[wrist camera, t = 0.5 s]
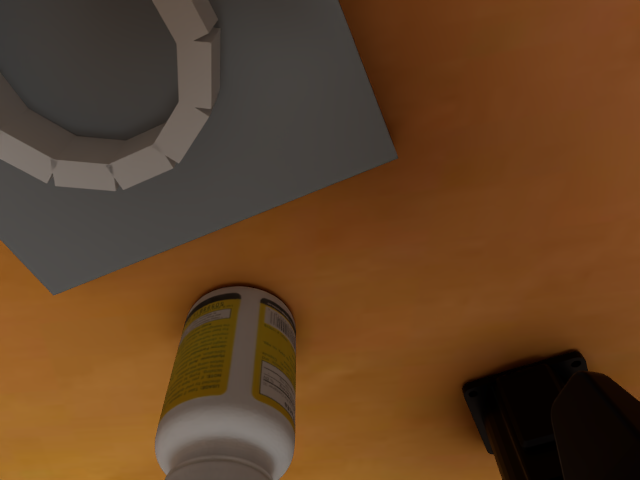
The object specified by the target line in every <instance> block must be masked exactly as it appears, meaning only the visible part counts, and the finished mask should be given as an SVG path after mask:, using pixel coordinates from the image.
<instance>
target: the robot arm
mask: <svg viewBox="0 0 640 480" xmlns="http://www.w3.org/2000/svg"><path fill="white" fill-rule="evenodd" d="M462 391H463V394H464V397H465V400H466V402H467V404H468V407H469V409H470V411H471V414H472V416H473V419H474V421H475V423H476V426H477V428H478V430H479V433H480V435H481V437H482V440H483V442H484V445H485V447H486V449H487V452H488V453H490V454H494V456H495V459H496V462H497V465H498V468H499V471H500V474H501V477H502V480H640V402H639V401H638V400H637V399H636V398H634V397H633V396H632V395H631V394H629V393H628V392H627V391H626V390H624V389H623V388H622V387H621V386H619V385H618V384H617V383H616V382H614V381H613V380H612V379H611V378H609V377H608V376H606V375H604V374H601V373H596V372H589V371H588V369H587V364H586V361H585V359H584V357H583V356H582V354H581V353H580V352H570V353H567V354H563V355H560V356H557V357H553V358H550V359H547V360H543V361H540V362H537V363H533V364H530V365H527V366H523V367H520V368H516V369H513V370H510V371H506V372H503V373H500V374H496V375H493V376H490V377H486V378H483V379H480V380H476V381H473V382H469V383H467V384H465V385H464V386H463V388H462Z"/></svg>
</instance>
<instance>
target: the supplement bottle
mask: <svg viewBox="0 0 640 480" xmlns="http://www.w3.org/2000/svg"><path fill="white" fill-rule="evenodd" d="M295 392H296V329H295V322H294V319H293V316H292V314H291V312H290V311H289V309H288V308H287V307H286V305H285V304H284V303H283V302H282V301H281V300H279V299H278V298H277V297H275V296H274V295H272V294H270V293H268V292H265V291H263V290H260V289H256V288H251V287H243V286H234V287H226V288H221V289H217V290H214V291H212V292H210V293H208V294H206V295H204V296H203V297H201V298H200V299H199V300H198V301H197V302H196V303H195V304H194V305H193V307H192V308H191V310H190V312H189V314H188V316H187V319H186V322H185V325H184V329H183V332H182V337H181V340H180V344H179V347H178V351H177V355H176V359H175V362H174V366H173V370H172V374H171V378H170V382H169V385H168V389H167V393H166V397H165V401H164V405H163V409H162V413H161V417H160V421H159V425H158V429H157V433H156V439H155V453H156V457H157V461H158V463H159V465H160V467H161V468H162V470H163V471H164V472H165V474H166V475H167V476H166V478H165V480H279V479H280V478H281V477H282V476H283V474H284V473H285V472H286V470H287V469H288V467H289V465H290V463H291V461H292V458H293V453H294V446H295Z"/></svg>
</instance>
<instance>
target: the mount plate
mask: <svg viewBox="0 0 640 480" xmlns="http://www.w3.org/2000/svg"><path fill="white" fill-rule="evenodd" d="M397 158H398V156H397V153H396V151H395V148H394V145H393V142H392V140H391V137H390V135H389V132H388V129H387V127H386V124H385V121H384V119H383V116H382V114H381V111H380V108H379V106H378V103H377V100H376V98H375V95H374V93H373V90H372V87H371V85H370V82H369V79H368V77H367V74H366V72H365V69H364V66H363V64H362V61H361V58H360V56H359V53H358V51H357V48H356V45H355V43H354V40H353V37H352V35H351V32H350V30H349V27H348V24H347V22H346V19H345V16H344V14H343V11H342V9H341V6H340V3H339V1H338V0H0V240H1V241H2V242H3V243H4V244H5V245H6V246H7V247H8V248H9V249H10V250H11V251H12V252H13V253H14V254H15V255H16V256H17V257H18V259H19V260H20V261H21V262H22V263H23V264H24V265H25V266H26V267H27V268H28V269H29V270H30V271H31V272H32V273H33V274H34V275H35V276H36V277H37V279H38V280H39V281H40V282H41V283H42V284H43V285H44V286H45V287H46V288H47V289H48V290H49V291H50V292H51V293H52V294H53V295H56V294H58V293H61V292H63V291H66V290H68V289H71V288H73V287H76V286H78V285H81V284H83V283H86V282H88V281H91V280H94V279H96V278H99V277H101V276H104V275H106V274H109V273H111V272H114V271H116V270H119V269H121V268H124V267H126V266H129V265H131V264H134V263H136V262H139V261H141V260H144V259H146V258H149V257H151V256H154V255H156V254H159V253H161V252H164V251H166V250H169V249H171V248H174V247H176V246H179V245H181V244H184V243H186V242H189V241H191V240H194V239H196V238H199V237H201V236H204V235H206V234H209V233H211V232H214V231H216V230H219V229H222V228H224V227H227V226H229V225H232V224H234V223H237V222H239V221H242V220H244V219H247V218H249V217H252V216H254V215H257V214H259V213H262V212H264V211H267V210H269V209H272V208H274V207H277V206H279V205H282V204H284V203H287V202H289V201H292V200H294V199H297V198H299V197H302V196H304V195H307V194H309V193H312V192H314V191H317V190H319V189H322V188H324V187H327V186H329V185H332V184H334V183H337V182H339V181H342V180H344V179H347V178H350V177H352V176H355V175H357V174H360V173H362V172H365V171H367V170H370V169H372V168H375V167H377V166H380V165H382V164H385V163H387V162H390V161H392V160H395V159H397Z"/></svg>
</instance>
